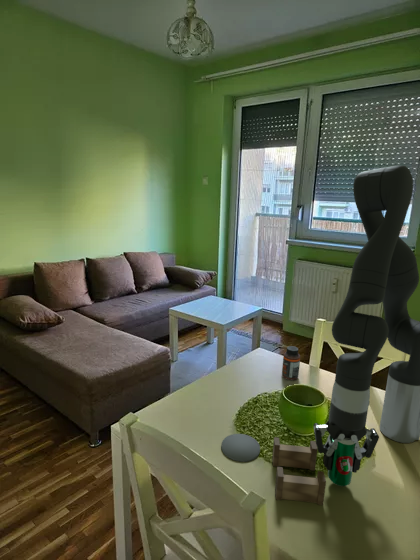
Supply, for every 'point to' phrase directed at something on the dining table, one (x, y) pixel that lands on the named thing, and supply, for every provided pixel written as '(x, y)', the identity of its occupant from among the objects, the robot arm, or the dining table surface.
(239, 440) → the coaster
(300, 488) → the channel
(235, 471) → the dining table surface
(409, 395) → the robot arm
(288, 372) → the supplement bottle
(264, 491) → the dining table surface
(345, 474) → the soda can
